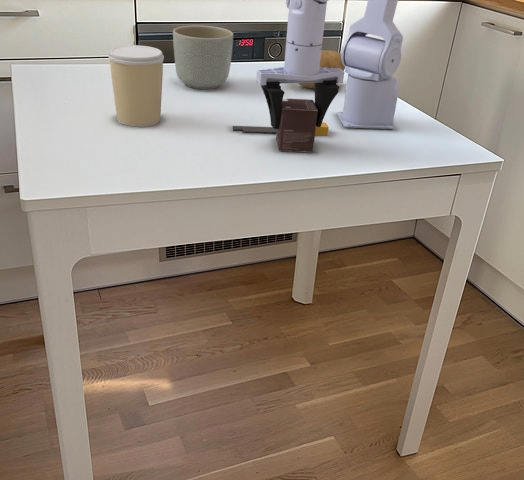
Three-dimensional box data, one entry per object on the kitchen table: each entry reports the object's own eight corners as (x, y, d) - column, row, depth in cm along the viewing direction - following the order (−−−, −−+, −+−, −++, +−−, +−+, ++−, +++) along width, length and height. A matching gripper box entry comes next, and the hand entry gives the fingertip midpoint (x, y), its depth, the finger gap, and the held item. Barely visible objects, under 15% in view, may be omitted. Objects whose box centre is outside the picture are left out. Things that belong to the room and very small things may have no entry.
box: (313, 153, 108) (318, 110, 104) (277, 151, 108) (281, 108, 104) (309, 140, 113) (313, 99, 109) (275, 138, 113) (278, 97, 109)
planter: (204, 74, 145) (205, 23, 139) (243, 87, 138) (245, 34, 132) (161, 82, 137) (160, 28, 132) (199, 96, 131) (200, 41, 125)
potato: (353, 90, 142) (358, 53, 138) (299, 95, 136) (303, 57, 132) (329, 78, 149) (333, 42, 145) (276, 83, 143) (279, 45, 139)
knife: (325, 130, 118) (326, 122, 117) (327, 135, 116) (328, 127, 115) (232, 127, 116) (232, 119, 115) (233, 132, 114) (233, 124, 113)
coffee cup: (174, 117, 119) (174, 50, 112) (146, 132, 111) (144, 60, 105) (132, 108, 122) (129, 42, 115) (101, 121, 114) (96, 51, 108)
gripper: (335, 36, 107) (325, 116, 114) (252, 36, 102) (248, 120, 110) (353, 46, 101) (342, 130, 108) (267, 47, 97) (261, 134, 104)
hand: (295, 126), depth 109 cm, fingers open, 7 cm apart
